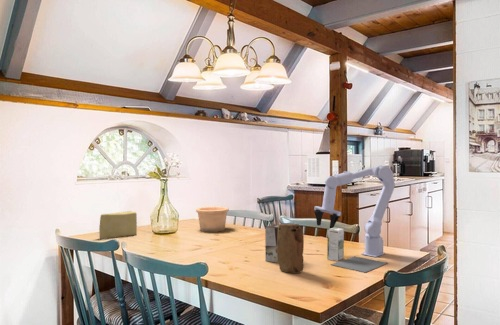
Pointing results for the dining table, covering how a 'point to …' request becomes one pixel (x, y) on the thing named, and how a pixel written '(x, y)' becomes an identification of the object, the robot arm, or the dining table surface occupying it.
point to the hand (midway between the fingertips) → (324, 227)
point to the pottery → (212, 218)
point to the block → (290, 247)
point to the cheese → (118, 224)
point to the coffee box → (271, 243)
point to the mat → (359, 264)
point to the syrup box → (335, 244)
